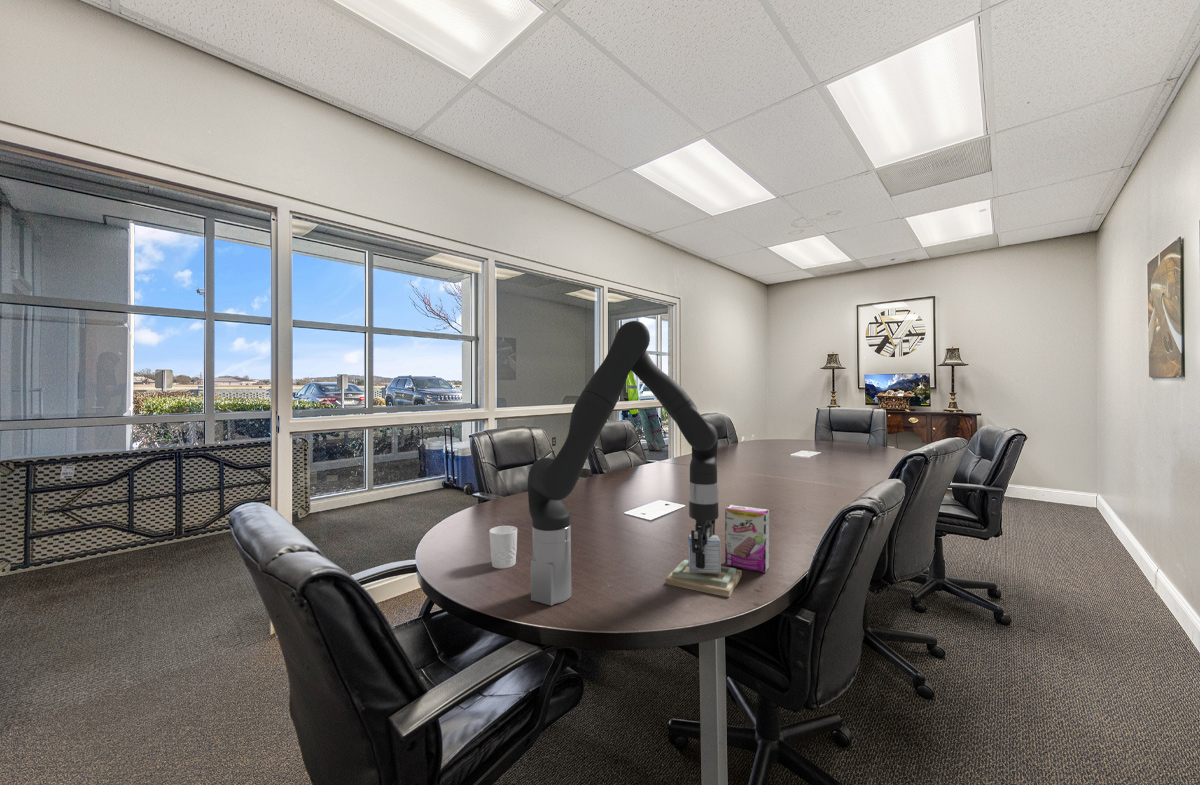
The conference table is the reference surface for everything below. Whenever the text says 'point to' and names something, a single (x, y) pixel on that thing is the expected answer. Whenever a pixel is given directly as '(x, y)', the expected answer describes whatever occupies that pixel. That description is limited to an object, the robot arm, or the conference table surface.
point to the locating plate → (705, 579)
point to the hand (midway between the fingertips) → (703, 563)
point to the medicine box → (706, 556)
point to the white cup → (503, 546)
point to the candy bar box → (747, 538)
